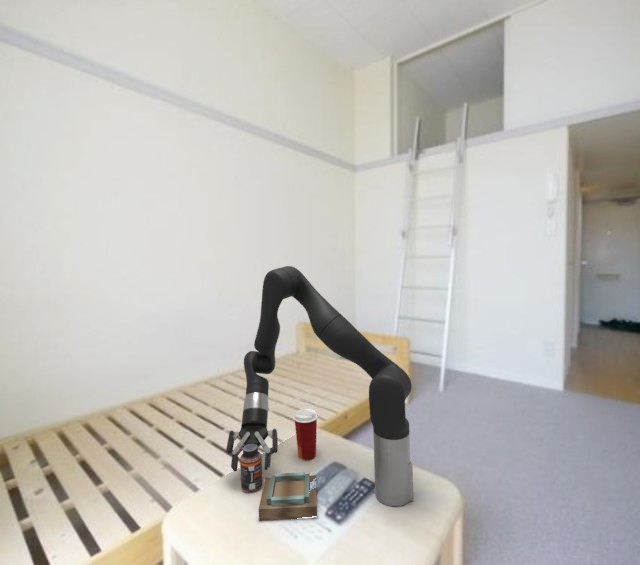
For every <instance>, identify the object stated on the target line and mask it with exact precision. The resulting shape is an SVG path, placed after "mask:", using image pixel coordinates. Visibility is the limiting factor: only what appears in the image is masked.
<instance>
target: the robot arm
mask: <svg viewBox="0 0 640 565" xmlns="http://www.w3.org/2000/svg"><path fill="white" fill-rule="evenodd" d="M261 290H262V291H261V292H262V293H261V304H260V315H259V316H260V317H259V318H260V319H259V324H258V327H257V332H256V335H255V339H254V342H253V344H254V345H253V346H254V349H255V350H250V351H248V352H247V353H246V354H245V355H244V357H243V367H244V373H245V378H246V389H245V397H244V398H245V399H244V401H243V410H242V417H241V428H240V430H239V431H234V430H230V431H229V432H228V438H227V443H226V449H225V451H226V454H227V455H229V456H231V463H230V467H231V469H232V471H233V472H238V466H239V465H238V464H239V455H240V454H241V452H243V448H244V446H246V445H248V444H256V445H257V446H258V448H259V447H260V446H261V448H262V449H263V450H264V452H265V453H264V464H263V468H264V469H263V470H265V471H268V469H269V468H271V459H272V458H271V457H272V456H273V454H277V453H278V446H279V445H278V444H279V443H278V430H277V428H273V429H272V430H268V417H269V414H268V413H269V387H270V385H269V380H268V379H267V378H265V377H264V376H261V375H259V374H263V375H270V374H271V373H272V372H274V370H275V368H276V347H277V344H278V343H277V342H278V340H279V338H280V332H281V325H280V322H279V318H278V314H279V308H280V306H281V304H282V301H284V300H285V299H288V298H291V297H292V298H294V300H296V301H297V302H298V303H299V304H300V305H301V306H302V307H303V308H304V310H305V311H306V313H307V317H308V320H309V323H310V326H311V329H312V331H313V333H314V334H315V335H316V337H317V338H318V339H319V340H320V341H321V342H322V343H323V344H324V345H325V346H326V347H327V348H328V349H329V350H330V351H331V352H333V353H334V354H336V355H338V356H340V357H341V358H344V359H346V360H348V361H350V362H352V363H354V364H355V365H357V366H358V367H360V368H361V369H362V371H364V372H365V373H366V374H367V375H368V376H369V377H370V378H371V380H370V383H369V386H368V406H369V416H370V422H371V424H372V429H373V430H372V431H373V432H372V433H373V434H372V435H373V462H374V463H373V464H374V466H373V467H374V493H375V494H376V495H375V494H374V495H375V497H376V499H377V500H378V501H379V502H380V503H382V504H384V505H386V506H389V507H402V506H404V505H406V504H408V503H409V502H414V479H413V478H414V471H413V470H414V469H413V468H414V467H413V464H412V462H411V444H410V443H411V442H410V440H411V439H410V438H411V437H410V421H409V420H408V419H407V417H406V400H407V398H408V396H410V394H411V392H412V388H413V385H412V380H411V379H410V376H409V375H408V374H407V372H406V371H405V370H404V369H403V368H402V367H400V365H398V364H397V363H396V362H394V361H393V360H392V359H390V358H389V357H387V355H385V354H384V353H382V352H381V351H380V350H379V349H378V348H377V347H375V345H373V344H372V343H371V342H370V341H369V340H368V338H366V337H365V336H364V335H363V334H362V333H361V332H360V331H359V330H358V329H357V328H356V327H355V326H354V325H353V324H352V323H351V322H350V321H349V320H348V319H347V318H346V317H345V316H343V315H342V313H340V312H339V311H338V310H337V309H336V308H335V307H334V306H333V305H332V304H330V302H329V301H327V299H325V298H324V296H322V295H321V294H320V293H319V292H318V290H317V289H316V288H315V287H314V286H313V284H311V282H310V281H309V280H308V279H307V277H306V276H305V275H304V274H303V273H302V272H301V271H300V270H299V269H298V268H296V267H295V266H292V265H286V266H283V267H277V268H274V269H272V270H269V271H268V272H267V273H266V274H265V276H264V278H263V283H262V289H261ZM268 436H270V437H269V438H270V439H272V440H271V441H272V442H271V444H272V447H270V448H269V446H268V444H267V443H266V439H267V438H268ZM237 438H240V441H239V442H238V443H237V444H236V447H235V448H234V444H235V441H236V440H237Z"/></svg>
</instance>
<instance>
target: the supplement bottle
mask: <svg viewBox="0 0 640 565" xmlns="http://www.w3.org/2000/svg"><path fill="white" fill-rule="evenodd" d="M258 448H259V447H258V446H257V445H256V444H248V445H246V446H244V448H243V451H242V454H241V455H240V458H239V461H240V462H239V465H240V466H239V467H240V484H241V485H240V488H241V490H242V491H243V492H245V493H254V492H257V491H259V490H261V488H262V486H263V485H264V480H263V462H262V461H263V458H262V457H263V456H262V453H261V452H260V451H259V449H258Z"/></svg>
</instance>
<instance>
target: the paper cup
mask: <svg viewBox="0 0 640 565" xmlns="http://www.w3.org/2000/svg"><path fill="white" fill-rule="evenodd" d="M318 417H319V416H318V414H317V411H316V410H314V409H312V408H300V409H298V410H296V411H295V413H294V415H293V420H294V426H295V436H296V446H297V454H298V458H299V460H302V461H312V460H313V459H315V457H316V456H317V427H318V426H317V420H318Z"/></svg>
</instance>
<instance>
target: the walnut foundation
mask: <svg viewBox="0 0 640 565" xmlns="http://www.w3.org/2000/svg"><path fill="white" fill-rule="evenodd" d="M310 474H311V473H306V472H304V471H303V472H291V473H290V472H283V473H275V474H273V475H272V474H271V475H270V477H265V478H264V479H265V480H264V481H263V488H262V491H261V492H262V493H261V496H260V501H259V504H258V505H259V506H258V522H270V521H271V522H272V521H286V520H287V521H288V520H291V519H292V520H298V519H297V518H302V517H312V516H317V517H318V493H317V492H318V491H317V492H316V488H314V489H312V490H311V491H309V490H310V482H312V481H313V479H315V478H316V479H317V475H313V474H312V475H310ZM309 492H310V493H309Z"/></svg>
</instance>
